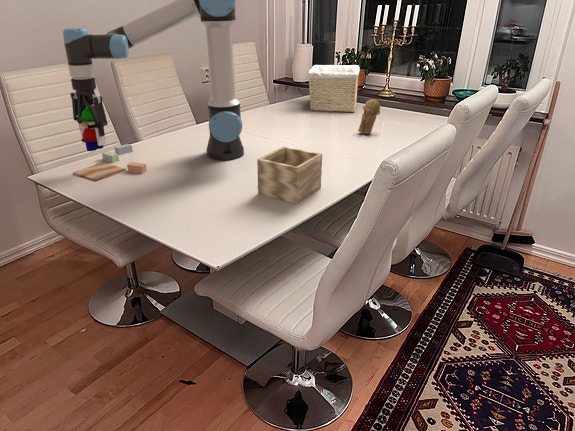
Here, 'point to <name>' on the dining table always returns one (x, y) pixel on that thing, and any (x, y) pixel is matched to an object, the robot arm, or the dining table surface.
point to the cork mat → (99, 171)
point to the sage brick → (110, 156)
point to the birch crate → (289, 174)
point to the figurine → (369, 115)
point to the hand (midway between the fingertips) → (94, 142)
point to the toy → (89, 131)
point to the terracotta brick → (136, 167)
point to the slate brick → (123, 149)
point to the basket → (333, 87)
